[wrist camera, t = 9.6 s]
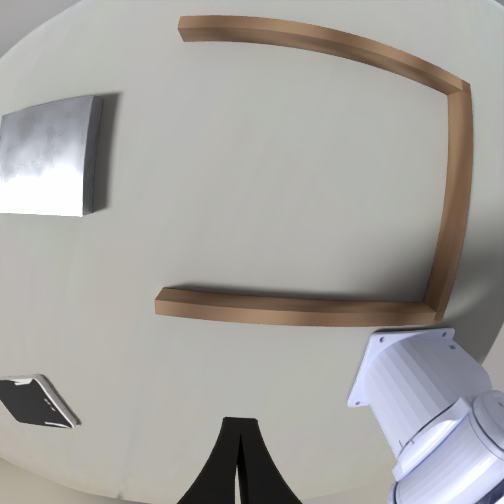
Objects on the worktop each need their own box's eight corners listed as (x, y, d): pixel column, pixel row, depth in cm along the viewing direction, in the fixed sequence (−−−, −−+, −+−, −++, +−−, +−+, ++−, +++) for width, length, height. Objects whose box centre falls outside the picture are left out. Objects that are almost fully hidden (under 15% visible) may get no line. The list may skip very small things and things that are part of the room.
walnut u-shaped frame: (455, 88, 15) (470, 84, 13) (428, 312, 20) (441, 323, 18) (186, 30, 14) (180, 16, 12) (163, 301, 19) (155, 314, 17)
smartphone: (-13, 380, 21) (37, 377, 20) (-9, 375, 22) (43, 371, 21) (17, 421, 23) (77, 428, 22) (21, 416, 24) (81, 421, 23)
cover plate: (106, 101, 15) (93, 94, 14) (96, 212, 17) (81, 216, 16) (16, 117, 15) (2, 115, 13) (10, 208, 17) (-5, 211, 15)
